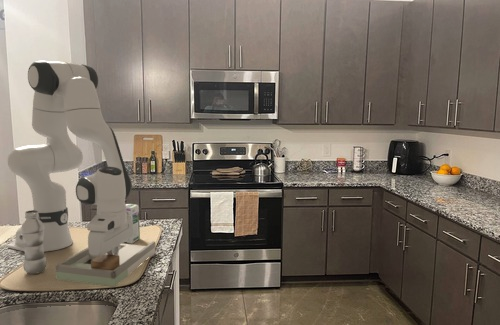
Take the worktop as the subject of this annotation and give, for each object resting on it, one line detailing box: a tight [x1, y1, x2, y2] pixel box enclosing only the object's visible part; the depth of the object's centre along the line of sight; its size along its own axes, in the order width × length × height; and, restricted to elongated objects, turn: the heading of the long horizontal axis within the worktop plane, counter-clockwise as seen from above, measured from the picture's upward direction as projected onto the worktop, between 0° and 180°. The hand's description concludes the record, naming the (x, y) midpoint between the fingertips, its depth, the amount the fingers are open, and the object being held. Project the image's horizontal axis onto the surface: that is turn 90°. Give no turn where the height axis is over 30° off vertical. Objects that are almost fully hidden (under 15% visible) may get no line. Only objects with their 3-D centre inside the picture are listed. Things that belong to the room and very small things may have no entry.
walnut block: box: [91, 254, 120, 270], centre depth 116 cm, size 6×6×4 cm
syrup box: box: [125, 203, 141, 244], centre depth 149 cm, size 6×6×14 cm
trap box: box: [54, 240, 156, 287], centre depth 126 cm, size 20×27×4 cm
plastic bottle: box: [20, 209, 48, 275], centre depth 119 cm, size 6×7×20 cm
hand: (113, 259), depth 121 cm, fingers closed
